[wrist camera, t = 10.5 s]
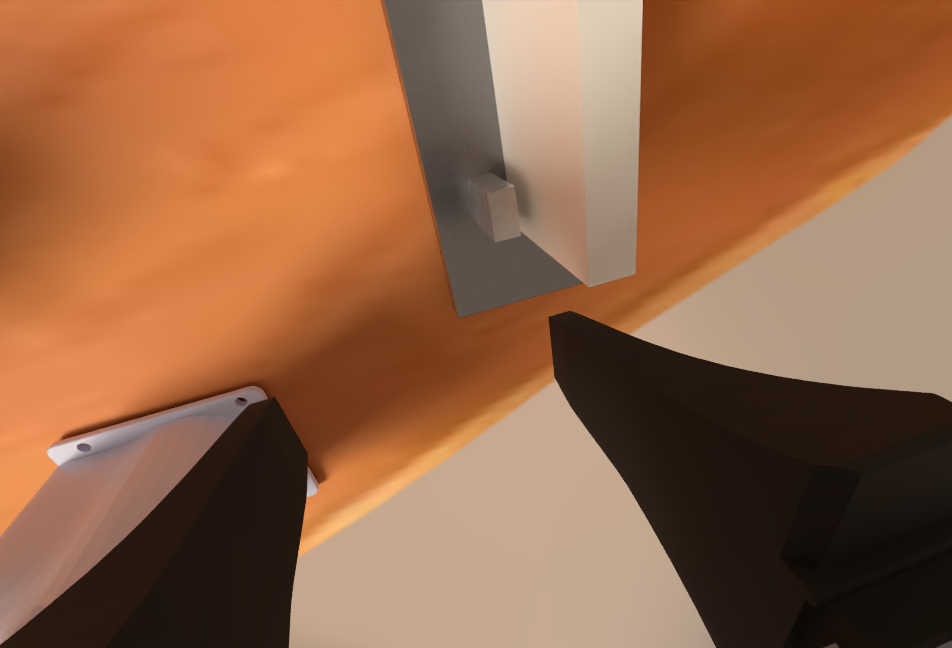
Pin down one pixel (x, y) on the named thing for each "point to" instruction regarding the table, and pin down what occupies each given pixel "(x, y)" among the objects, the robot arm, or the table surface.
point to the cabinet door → (571, 126)
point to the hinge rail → (465, 155)
